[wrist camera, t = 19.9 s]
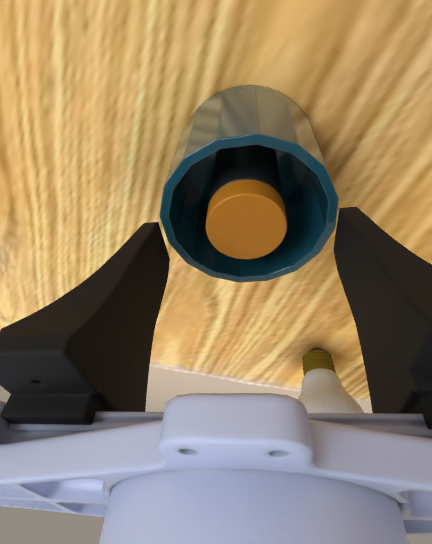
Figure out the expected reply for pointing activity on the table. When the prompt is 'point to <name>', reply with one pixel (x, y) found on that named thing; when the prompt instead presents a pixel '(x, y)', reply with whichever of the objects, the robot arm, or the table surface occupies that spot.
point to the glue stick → (246, 202)
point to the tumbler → (293, 174)
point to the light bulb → (324, 386)
